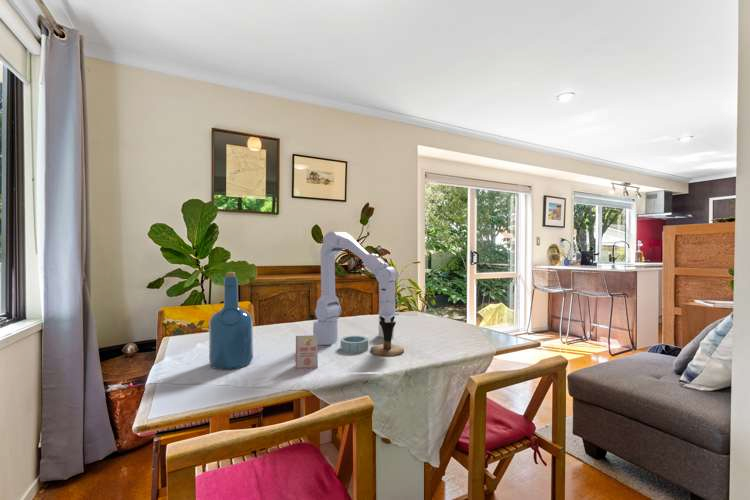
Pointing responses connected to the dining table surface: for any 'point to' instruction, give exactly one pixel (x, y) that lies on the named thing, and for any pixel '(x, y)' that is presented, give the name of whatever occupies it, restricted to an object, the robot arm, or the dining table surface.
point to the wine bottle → (230, 331)
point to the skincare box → (382, 330)
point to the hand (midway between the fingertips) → (387, 338)
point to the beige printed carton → (306, 352)
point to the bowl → (354, 344)
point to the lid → (387, 349)
